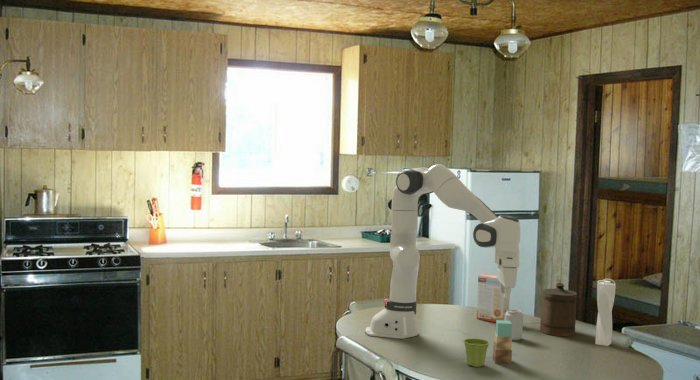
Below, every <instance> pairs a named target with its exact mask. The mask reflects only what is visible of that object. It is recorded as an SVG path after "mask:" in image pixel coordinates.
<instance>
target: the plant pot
mask: <svg viewBox="0 0 700 380" xmlns="http://www.w3.org/2000/svg"><path fill="white" fill-rule="evenodd" d="M463 343H464V347H465V354H466V362H467V365H468V366H472V367H475V368H476V367H479V368H480V367H483V366H485V362H486V356H487V351H488V350H487V349H488V347H489V345H490V341H489V340H486V339H481V338H475V337H474V338H472V337H471V338H470V337H469V338H465V339H463Z"/></svg>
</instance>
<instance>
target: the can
mask: <svg viewBox="0 0 700 380" xmlns="http://www.w3.org/2000/svg"><path fill="white" fill-rule="evenodd" d="M505 321H510V322H511V323H512V334H511V337H512V341H520V340H521V339H523V327H524V326H523V324H524V323H523V322H524V314H523V312H522V310H520V309H510V308H509V310H507V312H506V313H505Z"/></svg>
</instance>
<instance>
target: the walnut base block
mask: <svg viewBox="0 0 700 380" xmlns="http://www.w3.org/2000/svg"><path fill="white" fill-rule="evenodd" d="M492 348H493V349H492V360H493V362H494V364H502V365H504V364H505V365H512V361H513V360H512V359H513V357H512V356H513V350H512V349H511V351H509V350H496V349H495V347H494V345H493V346H492Z"/></svg>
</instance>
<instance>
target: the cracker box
mask: <svg viewBox="0 0 700 380" xmlns="http://www.w3.org/2000/svg"><path fill="white" fill-rule="evenodd" d="M477 276H478V277H477V278H478V279H477V295H476V296H477V298H476V299H477V300H476V302H477V303H476V320H480V319H481V321H485V322H487V321H488V322H492V323H496V320H505V313H506V312H507V310H510V298H509V299H506V298H505V297H504V294H502V293H501V292H500V289H501V288H500V281H499V280H498V279H497V275H494V274H493V275H492V274H483V273H482V274H479V275H477Z"/></svg>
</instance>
